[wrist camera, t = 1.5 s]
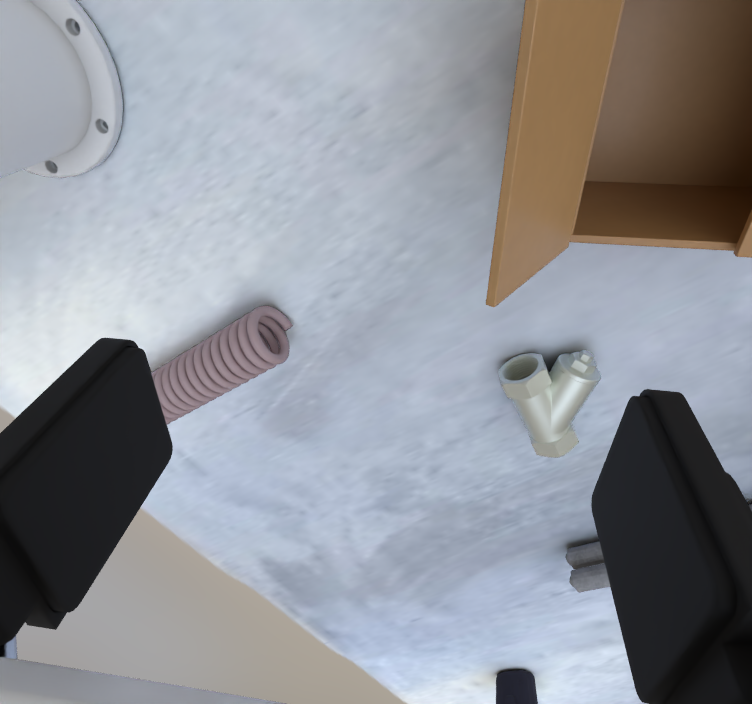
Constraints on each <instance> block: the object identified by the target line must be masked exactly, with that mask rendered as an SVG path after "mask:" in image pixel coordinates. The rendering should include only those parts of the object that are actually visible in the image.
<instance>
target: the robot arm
mask: <svg viewBox="0 0 752 704" xmlns="http://www.w3.org/2000/svg"><path fill="white" fill-rule="evenodd" d="M79 26H80V27H79ZM122 117H123V101H122V91H121V86H120V82H119V78H118V74H117V70H116V67H115V64H114V62H113V59H112V57H111V55H110V52H109V50H108V47H107V45H106V43H105V42H104V40H103V38H102V36H101V35H100V33H99V31H98V29H97V28H96V26H95V24H94V23H93V22H92V20H91V19H90V18H89V16H88V15H87V14H86V12H85V11H84V10H83V8H82V7H81V6H80V5H79V3H78V2H77V1H76V0H0V178H2V177H5V176H7V175H10V174H13V173H15V172H18V171H20V170H25V171H27V172H30V173H34V174H37V175H41V176H44V177H54V178H65V177H73V176H77V175H79V174H82V173H84V172H87V171H89V170H91V169H93V168H94V167H96V166H98V165H100V164H101V163H102V162H103V161H104V160H105V159H106V158H107V157H108V156H109V155H110V154H111V152H112V150H113V148H114V147H115V145H116V143H117V141H118V138H119V134H120V131H121V127H122ZM171 455H172V441H171V438H170V435H169V431H168V428H167V425H166V421H165V418H164V414H163V411H162V408H161V404H160V401H159V398H158V394H157V391H156V388H155V384H154V381H153V378H152V374H151V371H150V367H149V364H148V361H147V357H146V354H145V352H144V351H143V350H142V349H140V348H138V346H137V344H136V343H135V342H134V341H131V340H124V339H113V338H101V339H100V340H98V341H97V342H96V343H95V344H94V345H92V346H91V347H90V348H89V349H88V350H87V351H86V352H85V353H84V354H83V355H82V356H81V357H80V358H79V359H78V360H77V361H76V362H75V363H74V364H73V365H71V366H70V367H69V368H68V369H67V370H66V371H65V372H64V373H63V374H62V375H61V376H60V377H59V378H58V379H57V380H56V381H55V382H54V383H53V384H52V385H50V386H49V387H48V388H47V389H46V390H45V391H44V392H43V393H42V394H41V395H40V396H39V397H38V398H37V399H36V400H35V401H34V402H33V403H32V404H31V405H30V406H28V407H27V408H26V409H25V410H24V411H23V412H22V413H21V414H20V415H19V416H18V417H17V418H16V419H15V420H14V421H13V422H12V423H11V424H10V425H9V426H7V427H6V428H5V429H4V430H3V431H2V432H1V433H0V704H286V703H280V702H274V701H268V700H262V699H256V698H250V697H244V696H238V695H232V694H226V693H220V692H215V691H209V690H202V689H196V688H191V687H185V686H179V685H172V684H166V683H161V682H154V681H147V680H141V679H135V678H130V677H124V676H117V675H112V674H105V673H99V672H92V671H87V670H81V669H75V668H68V667H62V666H56V665H50V664H44V663H38V662H31V661H26V660H19V659H17V643H16V634H17V633H18V631H19V630H20V628H21V627H22V625H23V624H24V623H25V622H26V623H27V625H30V626H36V627H43V628H49V629H55V630H56V629H57V627H58V626H59V624H60V623H61V621H62V619H63V618H64V616H65V615H66V613H67V612H71V611H73V610H74V609H75V608H77V607H78V605H79V604H80V602H81V601H82V599H83V598H84V596H85V595H86V593H87V591H88V590H89V588H90V587H91V585H92V583H93V582H94V580H95V579H96V577H97V575H98V574H99V572H100V571H101V569H102V568H103V566H104V564H105V563H106V561H107V559H108V558H109V556H110V555H111V553H112V552H113V550H114V548H115V547H116V545H117V544H118V542H119V540H120V539H121V537H122V536H123V534H124V532H125V531H126V529H127V528H128V526H129V525H130V523H131V521H132V520H133V518H134V516H135V515H136V513H137V512H138V510H139V509H140V507H141V505H142V504H143V502H144V501H145V499H146V497H147V496H148V494H149V493H150V491H151V489H152V488H153V486H154V485H155V483H156V481H157V480H158V478H159V477H160V475H161V474H162V472H163V470H164V469H165V467H166V466H167V464H168V462H169V460H170V458H171ZM592 513H593V517H594V521H595V525H596V530H597V534H598V538H599V542H600V546H601V550H602V554H603V558H604V562H605V566H606V570H607V574H608V578H609V583H610V587H611V591H612V595H613V599H614V603H615V607H616V611H617V615H618V619H619V623H620V627H621V631H622V636H623V640H624V644H625V648H626V652H627V656H628V660H629V664H630V668H631V672H632V676H633V680H634V684H635V688H636V692H637V694H638V696H639V699H640V700H641V701H642V702H644V703H649V704H752V511H751V509H750V507H749V505H748V503H747V502H746V500H745V498H744V496H743V494H742V493H741V491H740V489H739V487H738V485H737V484H736V482H735V481H734V479H733V478H732V477H731V475H729V474H728V473H726V472H725V471H724V469H723V467H722V465H721V463H720V462H719V460H718V458H717V456H716V454H715V452H714V450H713V449H712V447H711V445H710V443H709V441H708V439H707V438H706V436H705V434H704V432H703V430H702V428H701V427H700V425H699V423H698V421H697V419H696V417H695V415H694V414H693V412H692V410H691V408H690V406H689V404H688V403H687V401H686V399H685V397H684V396H683V395H682V394H681V393H679V392H670V391H660V390H649V389H646V390H644V391H643V392H642V393H641V394H640V396H633V397H631V398H630V400H629V402H628V404H627V407H626V409H625V412H624V414H623V417H622V420H621V422H620V425H619V427H618V430H617V432H616V435H615V438H614V440H613V443H612V445H611V448H610V450H609V453H608V456H607V458H606V461H605V463H604V466H603V468H602V471H601V474H600V476H599V479H598V481H597V484H596V486H595V489H594V492H593V495H592Z"/></svg>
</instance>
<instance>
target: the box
mask: <svg viewBox="0 0 752 704" xmlns="http://www.w3.org/2000/svg"><path fill="white" fill-rule="evenodd" d="M569 242H579V243H598V244H617V245H636V246H655V247H674V248H693V249H712V250H731V251H734V254H735V255H736V256H737V257H752V0H622V4H621V9H620V13H619V18H618V22H617V27H616V31H615V36H614V41H613V45H612V50H611V54H610V59H609V63H608V68H607V72H606V77H605V82H604V86H603V91H602V95H601V100H600V104H599V109H598V113H597V118H596V123H595V127H594V132H593V136H592V141H591V145H590V150H589V154H588V159H587V164H586V168H585V173H584V177H583V182H582V186H581V191H580V195H579V200H578V205H577V209H576V214H575V218H574V223H573V227H572V232H571V236H570V241H569Z"/></svg>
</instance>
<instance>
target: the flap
mask: <svg viewBox="0 0 752 704" xmlns="http://www.w3.org/2000/svg"><path fill="white" fill-rule="evenodd" d="M621 4H622V0H525V8H524V16H523V23H522V31H521V39H520V46H519V54H518V62H517V69H516V77H515V85H514V92H513V100H512V107H511V115H510V123H509V130H508V138H507V146H506V153H505V161H504V169H503V176H502V184H501V192H500V199H499V207H498V214H497V222H496V230H495V237H494V245H493V253H492V260H491V268H490V276H489V283H488V291H487V299H486V305H489V306H492V307H495V306H497V305H498V304H499V303H500V302H502V301H503V300H504V299H505V298H506V297H508V296H509V295H510V294H511V293H513V292H514V291H515V290H516V289H517V288H519V287H520V286H521V285H522V284H524V283H525V282H526V281H527V280H529V279H530V278H531V277H532V276H533V275H535V274H536V273H537V272H538V271H540V270H541V269H542V268H543V267H544V266H546V265H547V264H548V263H549V262H551V261H552V260H553V259H554V258H556V257H557V256H558V255H559V254H560V253H562V252H563V251H564V250H565V249H567V248H568V246H569V241H570V236H571V232H572V227H573V223H574V218H575V214H576V209H577V205H578V200H579V195H580V191H581V186H582V182H583V177H584V173H585V168H586V164H587V159H588V154H589V150H590V145H591V141H592V136H593V132H594V127H595V123H596V118H597V113H598V109H599V104H600V100H601V95H602V91H603V86H604V82H605V77H606V72H607V68H608V63H609V59H610V54H611V50H612V45H613V41H614V36H615V31H616V27H617V22H618V18H619V13H620V9H621Z"/></svg>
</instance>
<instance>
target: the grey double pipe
mask: <svg viewBox="0 0 752 704" xmlns="http://www.w3.org/2000/svg"><path fill="white" fill-rule="evenodd" d="M749 507H750V509H751V511H752V505H749ZM566 560H567V562H568V563H569V564H570V565H571V566H572V567H573V569H576V570H572V571H571V576H570V583H571V585H572V586H573V587H574V588H575V589H576V590H577V591H578V592H584V591H589V590H594V589H600V588H605V587H610V583H609V578H608V574H607V570H606V566H605V562H604V558H603V554H602V550H601V546H600V542H599V541H598V542H594V543H590V544H586V545H581V546H577V547H573V548H569V549H568V550H567V554H566ZM603 563H604V564H603ZM594 565H595V566H594ZM589 566H590V567H589ZM580 568H581V569H580Z"/></svg>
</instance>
